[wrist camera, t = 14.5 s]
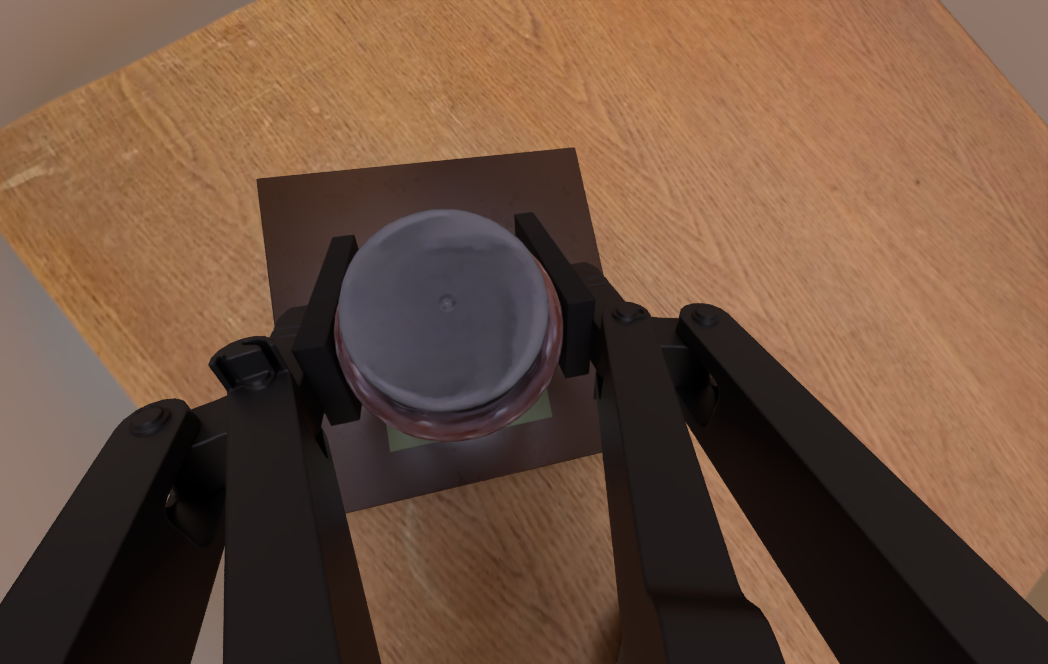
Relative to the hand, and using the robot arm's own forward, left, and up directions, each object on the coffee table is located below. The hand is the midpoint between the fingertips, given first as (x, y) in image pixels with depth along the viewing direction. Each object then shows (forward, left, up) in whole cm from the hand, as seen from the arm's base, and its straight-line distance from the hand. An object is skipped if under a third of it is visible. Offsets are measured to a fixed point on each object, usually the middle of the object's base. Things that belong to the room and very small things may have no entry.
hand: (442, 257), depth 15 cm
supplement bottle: (0, -4, -4) cm, 5 cm away
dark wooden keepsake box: (0, -2, -10) cm, 10 cm away
